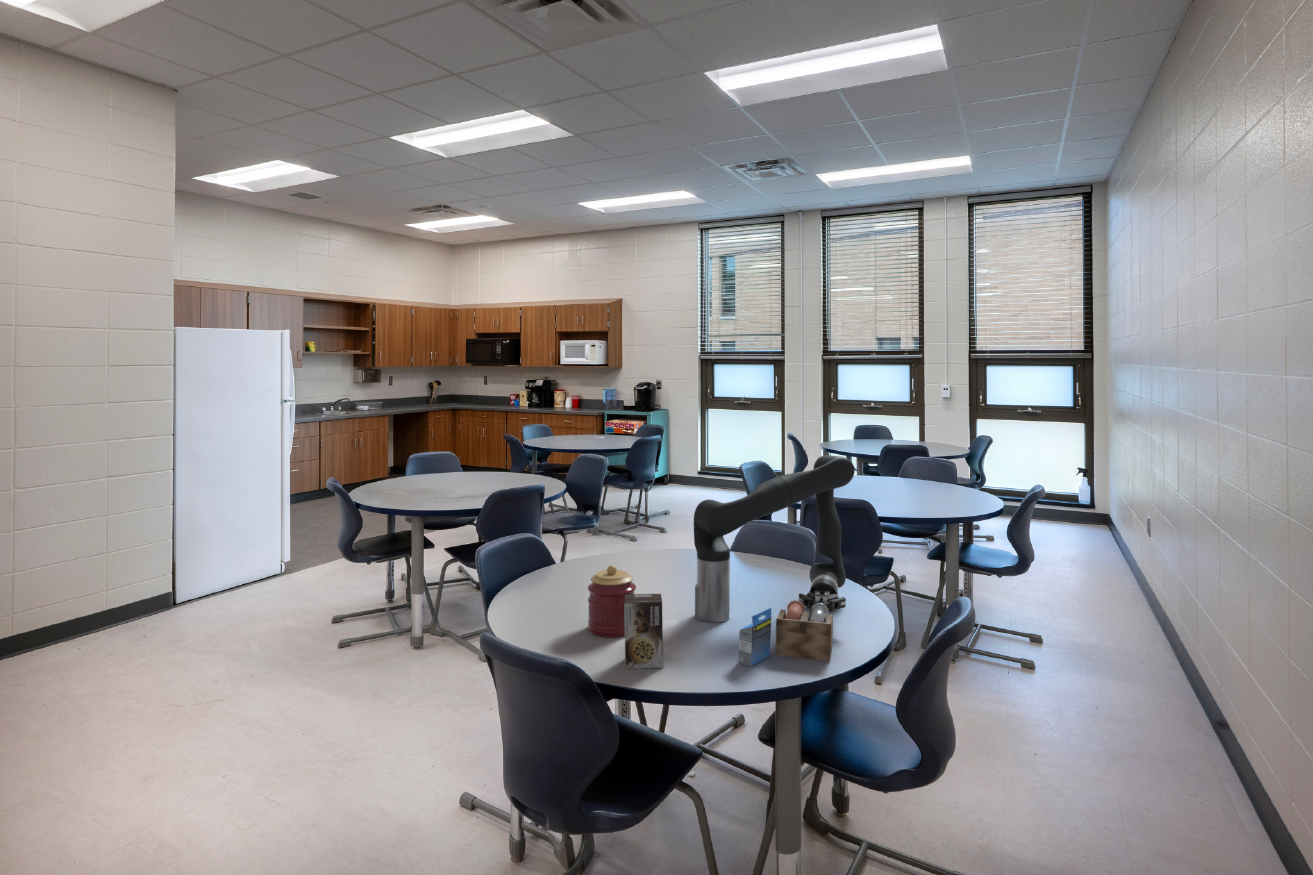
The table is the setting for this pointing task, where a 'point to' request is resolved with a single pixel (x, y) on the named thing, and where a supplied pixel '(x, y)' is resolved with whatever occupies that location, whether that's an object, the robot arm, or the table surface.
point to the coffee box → (643, 631)
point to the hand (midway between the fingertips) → (819, 610)
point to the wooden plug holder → (804, 637)
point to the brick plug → (795, 610)
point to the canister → (608, 602)
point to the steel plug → (819, 612)
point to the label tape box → (755, 639)
